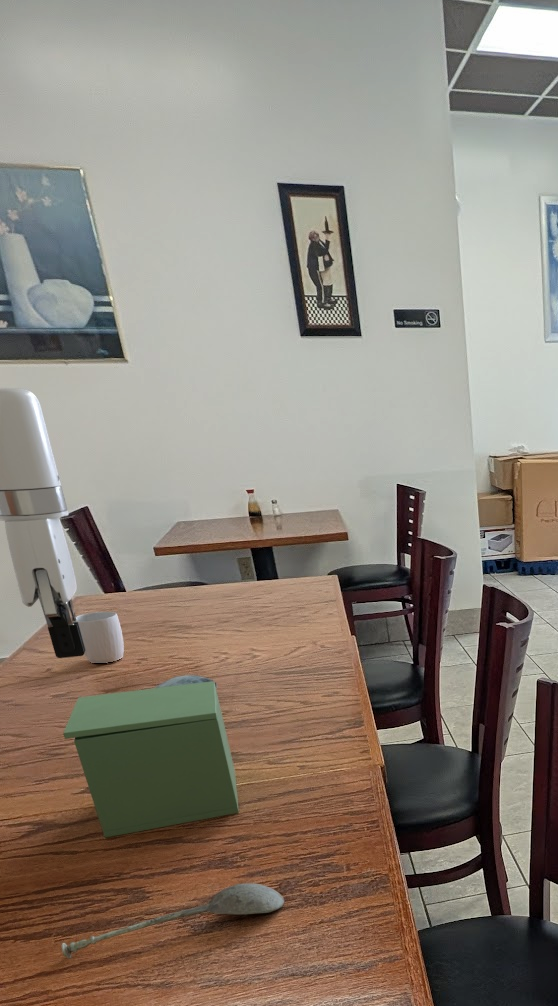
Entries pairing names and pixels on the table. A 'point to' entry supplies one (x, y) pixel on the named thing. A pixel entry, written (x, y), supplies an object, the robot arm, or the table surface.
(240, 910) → the soupspoon
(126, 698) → the lid
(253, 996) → the table surface
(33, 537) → the robot arm
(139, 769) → the chest
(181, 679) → the grey blue stone
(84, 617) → the mug
